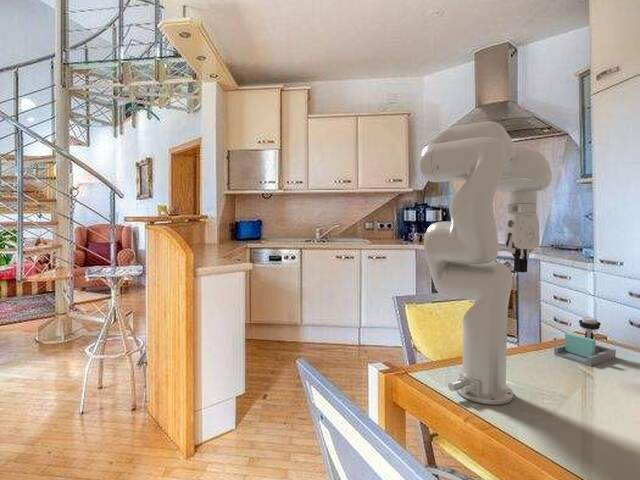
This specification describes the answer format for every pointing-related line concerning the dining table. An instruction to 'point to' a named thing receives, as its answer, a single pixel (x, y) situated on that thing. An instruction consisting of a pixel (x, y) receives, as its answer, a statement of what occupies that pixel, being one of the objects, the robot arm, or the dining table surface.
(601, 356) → the tray
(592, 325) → the push button
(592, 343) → the clamp jaw
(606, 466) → the dining table surface
